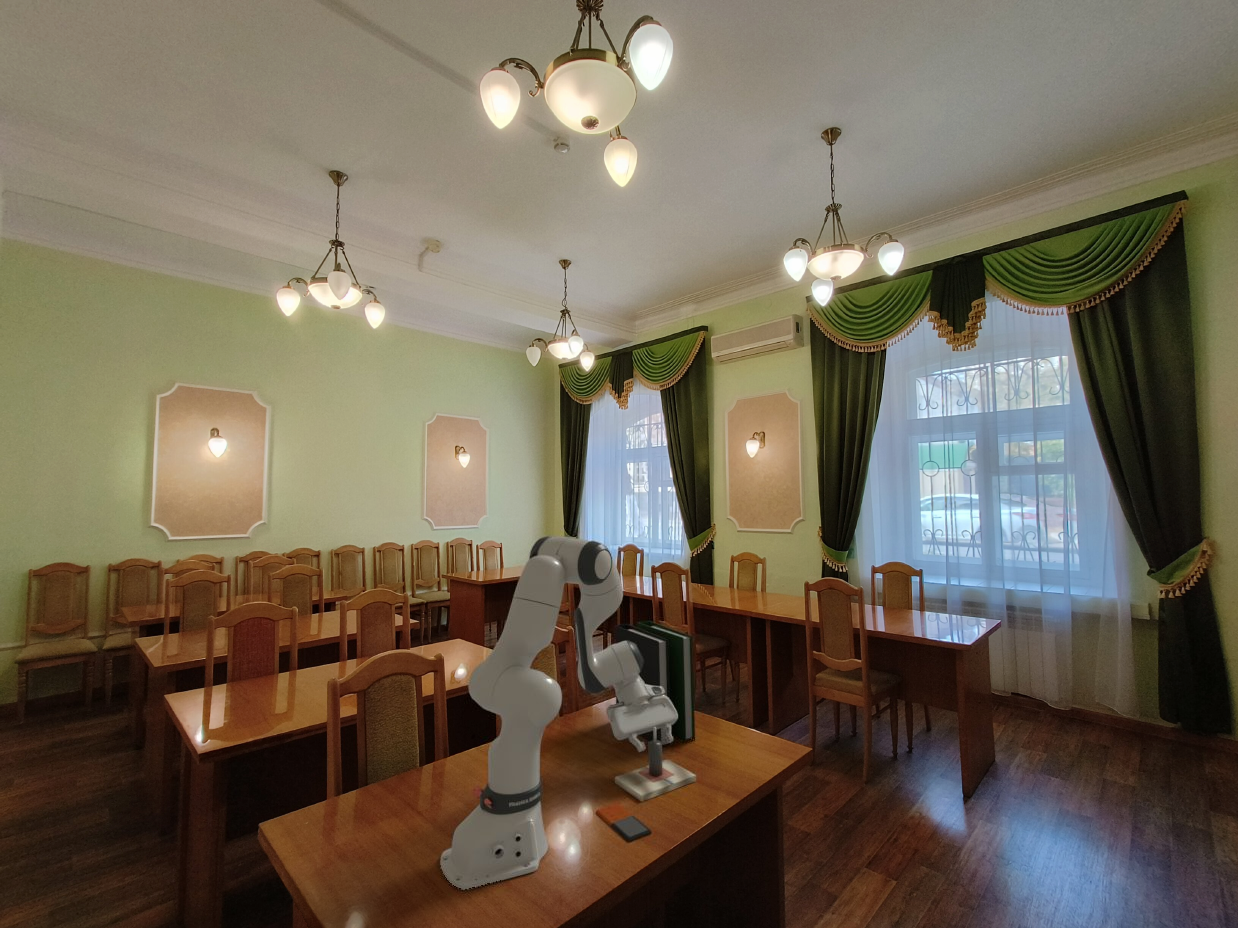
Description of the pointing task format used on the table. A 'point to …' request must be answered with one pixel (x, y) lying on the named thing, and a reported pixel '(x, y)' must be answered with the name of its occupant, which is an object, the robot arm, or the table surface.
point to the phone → (623, 822)
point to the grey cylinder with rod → (655, 756)
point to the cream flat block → (654, 780)
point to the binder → (665, 671)
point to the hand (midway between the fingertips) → (656, 745)
